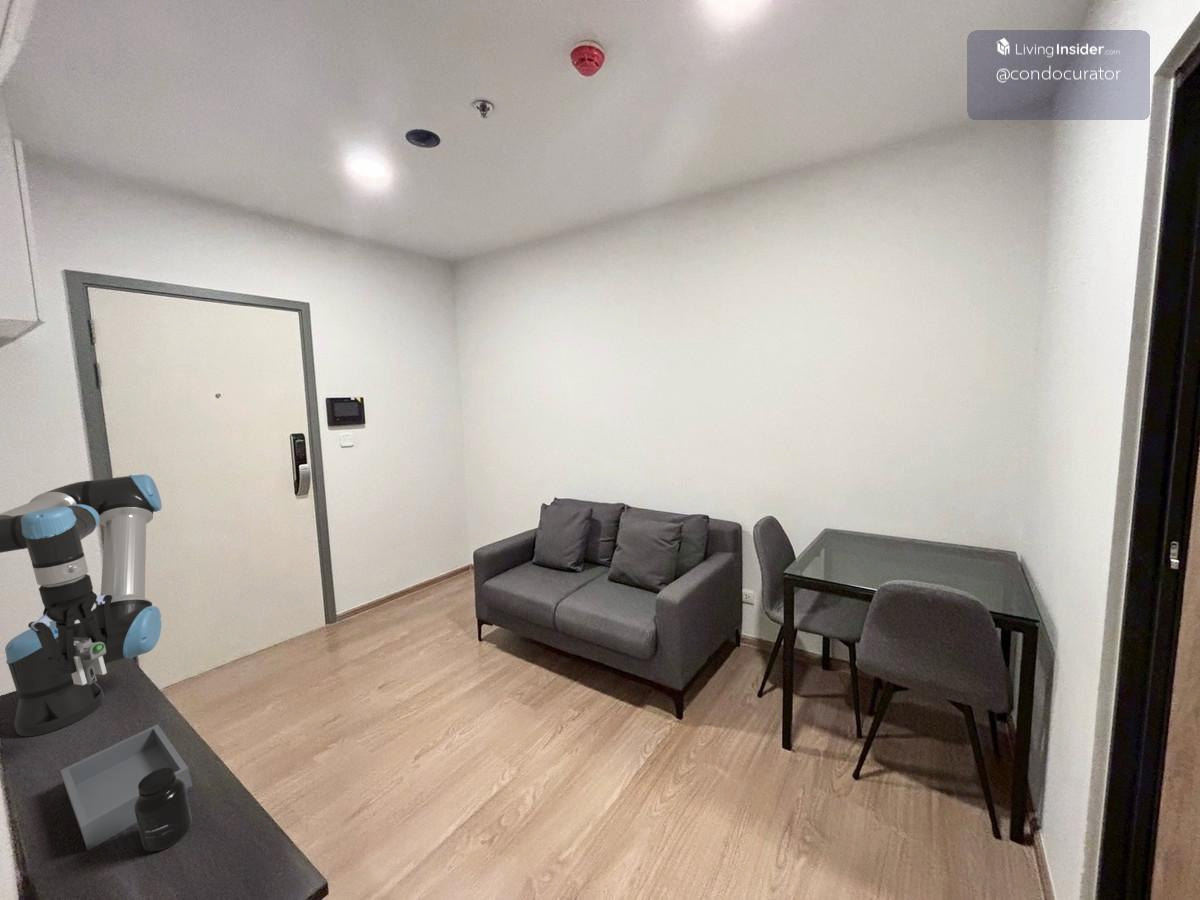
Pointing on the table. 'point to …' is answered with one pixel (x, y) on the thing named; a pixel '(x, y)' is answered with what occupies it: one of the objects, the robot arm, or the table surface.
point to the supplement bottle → (162, 810)
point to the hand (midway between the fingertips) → (90, 678)
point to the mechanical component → (88, 655)
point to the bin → (118, 782)
